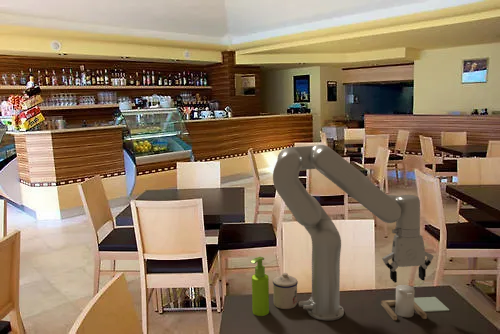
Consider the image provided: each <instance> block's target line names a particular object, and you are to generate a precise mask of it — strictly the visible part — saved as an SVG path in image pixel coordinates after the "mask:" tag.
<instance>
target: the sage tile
mask: <svg viewBox="0 0 500 334" xmlns="http://www.w3.org/2000/svg"><path fill="white" fill-rule="evenodd" d="M414 302H415V303H416V304H417V305H418V306H419V307H420V308H421V309H422V310H423V311H424V312H425V313H428V312H431V313H432V312H449V311H450V309H449V308H448V307H447V306H446V305H445V304H444V303H443V302H442V301H440V300H439V299H438V298H437V297H436V296H431V297H430V296H426V297H424V296H423V297H420V296H419V297H414Z"/></svg>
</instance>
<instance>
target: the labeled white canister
mask: <svg viewBox="0 0 500 334" xmlns="http://www.w3.org/2000/svg"><path fill="white" fill-rule="evenodd" d="M415 292H416V291H415V287H413V286H412V285H408V284H399V285H396V286H395V300H396V304H395V309H394V313H395V314H396V315H397V316H400V317H402V318H412V317H413V316H414V313H415V309H414V298H415Z"/></svg>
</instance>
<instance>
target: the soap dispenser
mask: <svg viewBox="0 0 500 334" xmlns="http://www.w3.org/2000/svg"><path fill="white" fill-rule="evenodd" d="M264 260H265V257H262V256H258V257H254V258H252V260H250V263H251V264H257V265H255V267H254V274H253V275H251V301H252V302H251V303H252V304H251V305H252V314H253V315H255V316H258V317H263V316H267V315H268V314H269V313H270V290H269V289H270V288H269V287H270V285H269V281H270V280H269V275H268V274H266V269H265V265H263V261H264Z"/></svg>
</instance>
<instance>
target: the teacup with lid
mask: <svg viewBox="0 0 500 334" xmlns="http://www.w3.org/2000/svg"><path fill="white" fill-rule="evenodd" d="M272 284H273V285H272V286H273V287H272V289H273V305H274V307H276V308H278V309H282V310H290V309H293V308H295V307H296V306H298V284H299V281H298V279H297V278H296V277H294V276H292V275H289V274H288V273H286V272H284V273H282V274H281V275H278V276H275V277H274V278H273V280H272Z"/></svg>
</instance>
